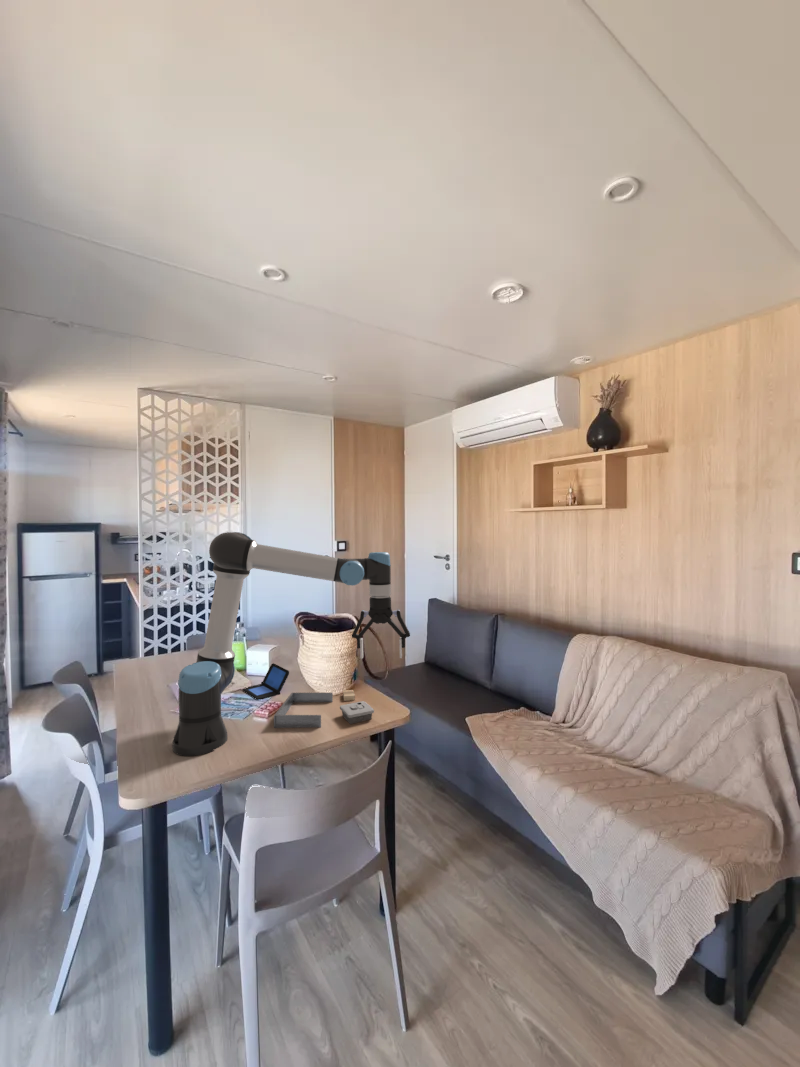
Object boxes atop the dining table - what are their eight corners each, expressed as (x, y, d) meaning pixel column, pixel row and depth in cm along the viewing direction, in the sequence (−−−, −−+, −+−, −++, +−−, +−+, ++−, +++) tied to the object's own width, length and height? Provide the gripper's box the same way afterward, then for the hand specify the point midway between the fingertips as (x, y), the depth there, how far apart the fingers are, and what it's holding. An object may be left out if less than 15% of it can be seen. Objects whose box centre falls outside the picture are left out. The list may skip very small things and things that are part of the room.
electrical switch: (364, 700, 159) (374, 704, 151) (365, 715, 158) (375, 720, 150) (338, 705, 155) (347, 709, 147) (339, 721, 154) (349, 726, 146)
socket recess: (320, 728, 146) (320, 715, 146) (273, 728, 146) (273, 715, 146) (332, 703, 167) (332, 692, 167) (291, 703, 168) (291, 692, 168)
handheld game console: (241, 692, 181) (241, 668, 181) (272, 684, 190) (272, 662, 190) (258, 702, 169) (257, 677, 169) (290, 694, 178) (290, 670, 178)
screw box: (355, 703, 168) (354, 695, 168) (344, 704, 167) (344, 696, 167) (353, 697, 174) (353, 689, 174) (342, 698, 173) (342, 690, 173)
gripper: (415, 594, 161) (416, 654, 161) (346, 595, 161) (347, 654, 161) (416, 597, 153) (417, 659, 153) (343, 598, 154) (344, 660, 154)
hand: (381, 657), depth 157 cm, fingers open, 13 cm apart
